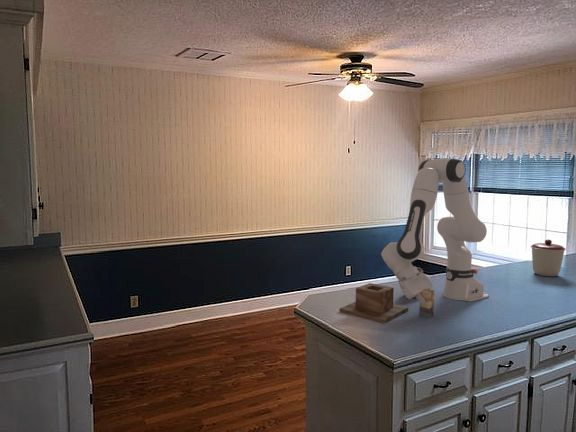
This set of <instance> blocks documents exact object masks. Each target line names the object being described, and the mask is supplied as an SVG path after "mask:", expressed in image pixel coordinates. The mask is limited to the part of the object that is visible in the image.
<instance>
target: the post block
mask: <svg viewBox="0 0 576 432" xmlns="http://www.w3.org/2000/svg"><path fill="white" fill-rule="evenodd" d="M394 289H395V288H394V287H393V286H392V287H391V286H386V285H383V284H377V283H372V282H369V283H366V284H363V285H361V286H359V287H357V288H355V301H354V302H351V303H349V304H347V305H344V306H343V307H340V308H339V313H343V314H346V315H350V316H353V317H354V316H355V317H358V318H361V319H365V320H370V321H373V322H377V323H382V324H386V323H388V322H390V321H391V320H393V319H395V318H397V317H400V316H401V315H403V314H404V313H406V312H409V306H405V305H400V304H396V303H394Z"/></svg>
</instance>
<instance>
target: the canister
mask: <svg viewBox="0 0 576 432" xmlns="http://www.w3.org/2000/svg"><path fill="white" fill-rule="evenodd" d="M530 248H531V258H532V270H533V272H534V274H536V275H538V276H542V277H556V276H558V275H559V274H560V273H561V269H562V264H563V259H564V255H565V251H566V247H564V246H562V245H560V244H557V243H553V241H552V240H551V239H545V240H544V242H539V243H534V244H533V243H532V244H531V245H530Z"/></svg>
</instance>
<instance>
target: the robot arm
mask: <svg viewBox="0 0 576 432" xmlns="http://www.w3.org/2000/svg"><path fill="white" fill-rule="evenodd" d="M466 169H467V168H466V164H465V163H464V162H463V160H462V159H459V158H454V157H451V158H449V157H448V158H447V157H446V158H445V157H440V158H435V159H425V160H423V161H421V163H419V166H418V170H417V173H416V176H415V178H414V182H413V183H412V184H413V186H412V189H411V193H410V201H409V212H408V216H407V220H406V225H405V228H404V232H403V233H402V235H401V236H400V238H399V239H398V240H397V241H395V242H392V241H391V242H389V243H387V244H386V245H385V246H384V247H383V249H382V251H381V253H380V255H381V257H382V260H383V261H384V263H385V264H386V265H387V268H389V269H390V270H391V271H392V272H393V274H394V275H395V276H394V277H396V278H397V280H398V285H399V288H400V290H401V291H402V293H403V295H404V297H405V298H407V299H408V300H411V299H414V298H413V297H416V298H415V299H417V300H418V301H419V302H420V301H421V303H422V304H425V303H427V300H426V299H424V298H423V297H422V296H421V294H420V293H421V292H422V290H424V289H430V290H431V288H433V283H432V282H431V280H430V279H429V278H428V276H427V275H426V274H425V273H424V270H423V269H422V268H421V267H417V266H414V265H413V264H412V262H414V261H416V260H419V259H420V258H421V257H422V256H423V255H424V254H425V245H424V244H423V242H422V241H421V239H420V236H421V235H420V234H421V229H422V227H423V222H424V219H425V216H426V215H427V213H429V212H430V211H432V210H433V208H434V206H435V203H436V202H437V197H438V191H439V184H440V183H442V190H443V191H442V192H443V198H444V205H445V209H446V210H447V211H448V212H449V213H450V214H451V215H452V216H444V217H441V218H440V219H439V221H438V222H437V225H436V230H437V232H438V235H440V236H441V238H442V239H443V241H444V245H445V247H446V252H447V253H446V254H447V256H446V257H447V263H446V265H447V266H446V267H445V281H444V287H443V289H442V290H443V291H442V294H441V295H442V297H444V298H446V299H450V300H454V301H455V300H456V301H465V302H470V303H471V302H475V301H478V300H483V299H486V298H489V297H490V296H489V294H488V293H486V292H485V290H484V289H485V288H484V284H483V283H482V282H481V281H480V280H478V278H476V277H475V275H478V272H479V271H478V270H477V269H472V260H473V259H472V258H473V257H472V255H473V254H472V251H471V250H469V248H468V247H467V246H466V244H465V243H481V242H483V241H484V239H486V236H487V232H488V230H487V226H486V225H485V223H484V222H483V221H481V220H480V218H479V217H478V216H477V215H476V213H475V211H474V210H473V207H472V204H471V200H470V199H471V198H470V194H469V188H468V182H467V178H466V175H465V174H466ZM474 274H475V275H474Z"/></svg>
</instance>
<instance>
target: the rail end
mask: <svg viewBox="0 0 576 432" xmlns="http://www.w3.org/2000/svg"><path fill="white" fill-rule="evenodd" d="M420 294H421V296H422V297H423V298H424V299H426V300H427V303H425V304H422V303H421V301H419V310H418V311H419V312H418V315H419V316H420V317H424V318H428V319H429V318H431V317H433V316H434V312H435V289H431V288H430V289H424V290H422V292H421V293H420Z"/></svg>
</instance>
